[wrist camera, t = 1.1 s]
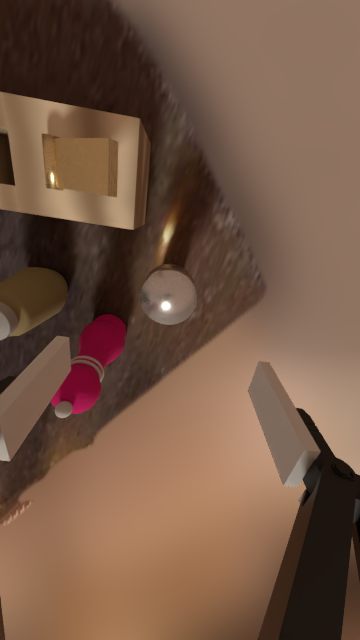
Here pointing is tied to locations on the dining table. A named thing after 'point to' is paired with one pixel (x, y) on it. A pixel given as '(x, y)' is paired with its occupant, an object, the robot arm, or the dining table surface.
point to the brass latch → (81, 164)
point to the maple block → (70, 122)
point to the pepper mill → (90, 365)
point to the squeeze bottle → (30, 299)
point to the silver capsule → (168, 294)
